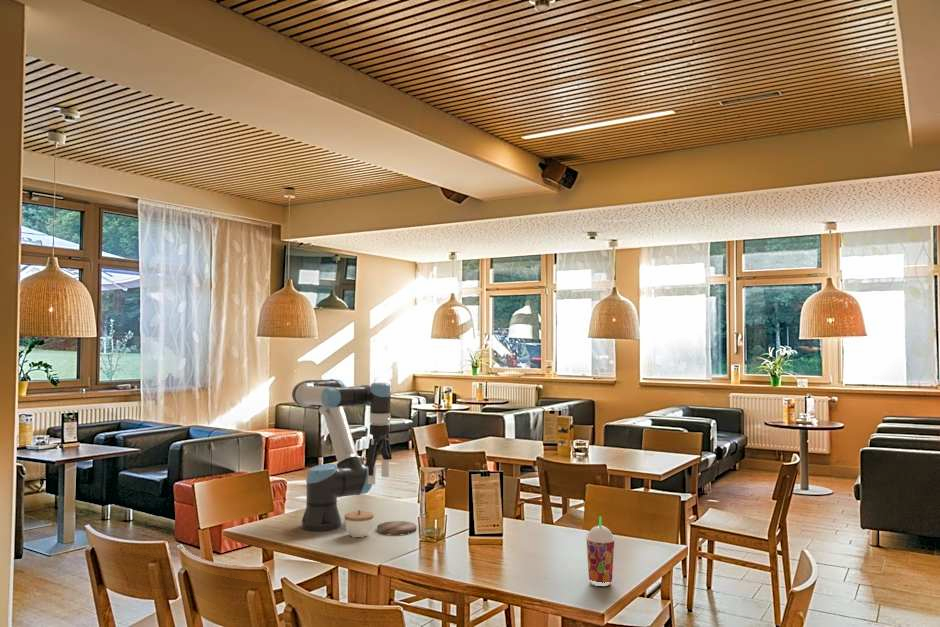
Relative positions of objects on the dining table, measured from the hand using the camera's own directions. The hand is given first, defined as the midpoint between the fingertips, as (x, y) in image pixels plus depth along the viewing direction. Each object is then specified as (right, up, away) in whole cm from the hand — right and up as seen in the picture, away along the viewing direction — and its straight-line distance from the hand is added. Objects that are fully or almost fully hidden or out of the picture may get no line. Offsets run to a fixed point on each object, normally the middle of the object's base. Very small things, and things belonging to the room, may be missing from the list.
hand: (378, 480), depth 271 cm
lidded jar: (-7, -20, -4) cm, 21 cm away
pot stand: (+7, -20, +5) cm, 22 cm away
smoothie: (+74, -18, -56) cm, 94 cm away
